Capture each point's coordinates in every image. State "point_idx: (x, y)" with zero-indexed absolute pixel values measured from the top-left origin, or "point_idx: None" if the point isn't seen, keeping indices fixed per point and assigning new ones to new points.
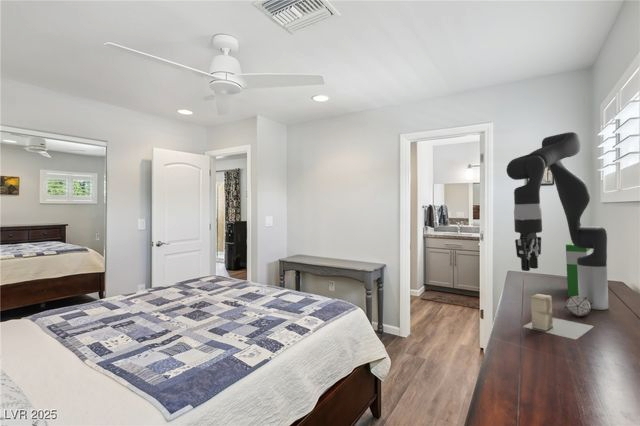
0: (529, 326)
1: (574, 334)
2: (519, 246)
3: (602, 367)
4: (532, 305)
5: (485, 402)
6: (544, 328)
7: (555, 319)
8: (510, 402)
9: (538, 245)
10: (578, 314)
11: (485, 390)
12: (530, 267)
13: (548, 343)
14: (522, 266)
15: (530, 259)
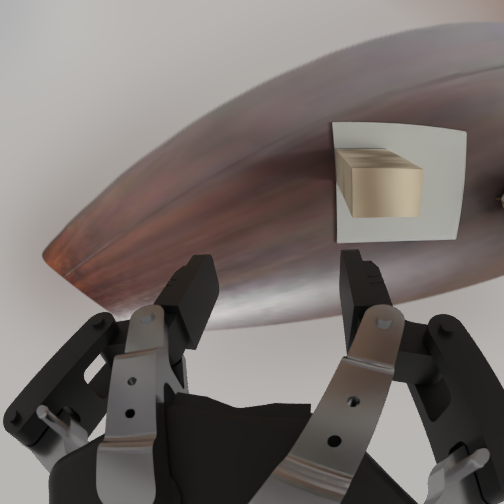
0: (349, 134)
1: (371, 230)
2: (59, 398)
3: (234, 301)
4: (345, 165)
5: (53, 250)
6: (337, 181)
7: (456, 164)
8: (69, 263)
9: (434, 441)
10: (501, 201)
11: (60, 239)
12: (342, 253)
13: (267, 213)
14: (174, 280)
15: (349, 298)
